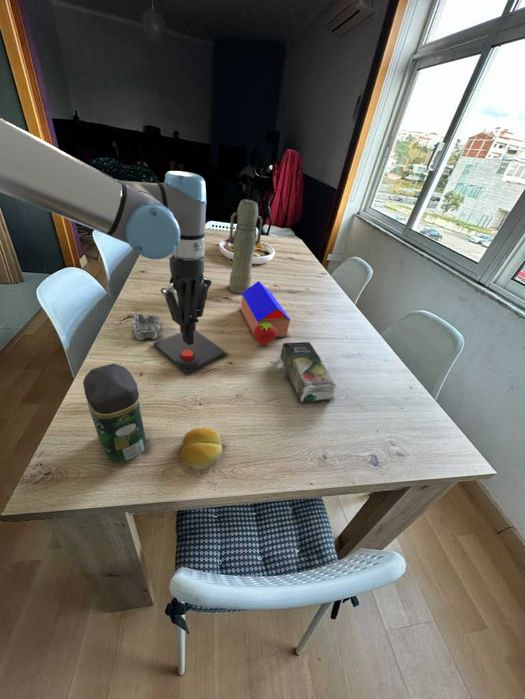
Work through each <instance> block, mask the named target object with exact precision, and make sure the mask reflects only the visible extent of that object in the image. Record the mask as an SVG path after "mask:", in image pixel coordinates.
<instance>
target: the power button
mask: <svg viewBox="0 0 525 699" xmlns="http://www.w3.org/2000/svg"><path fill="white" fill-rule="evenodd" d="M182 359H183V360H184V361H191V360H192V359H193V352H192V351H191V350H184V351H183V352H182Z"/></svg>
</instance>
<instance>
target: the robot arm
mask: <svg viewBox="0 0 525 699" xmlns="http://www.w3.org/2000/svg"><path fill="white" fill-rule="evenodd" d="M0 193H2V194H4V195H5V196H6V195H7V196H9V197H12V198H14V199H16V200H19V201H22V202H24V203H27V204H29V205H32V206H34V207H36V208H38V209H41V210H43V211H47V212H49V213H52V214H54V215H56V216H59V217H62V218H64V219H67V220H68V221H72V222H74V223H75V224H76V223H77V224H79V225H81V226H84V227H85V228H86V227H87V228H88V229H92V230H94V231H97V232H99V233H102V234H104V235H107V236H109V237H111V238H113V239H116V240H118V241H121V242H123V243H126V244H128V245H129V246H130V247H131V248H132V249H133V250H134V251H135V252H136V253H138V254H139V255H140V256H141V257H144V258H146V259H149V260H162V259H165V258H167V257H168V258H169V260H168V261H169V271H170V279H169V285H168V286H166V287H162V288H161V289H160V293H161V294H162V295H163V296H164V297H165V300H166V304H167V308H168V310H169V313H170V316H171V320H172V321H173V322H175V323H176V324H177V325H179V333H182V334H183V341H184V342H185V343H187V344H188V345H191V344H193V343H194V331H196V330H197V329H196V328H197V327H196V326H197V325H196V324H197V323H199V321H200V320H199V319H198V318H202V317H203V315H204V311H205V306H206V301H207V296H208V293H209V289H210V287H211V285H212V280H211V279H209V278H207V277H205V275H204V273H205V256H204V255H205V251H206V250H205V249H206V248H205V246H206V213H207V212H206V211H207V189H206V181H205V179H204V177H202V176H201V175H199V174H197V173H194V172H189V171H182V170H181V171H180V170H169V171H167V172H166V173H165V175H164V182H159V183H157V182H156V183H153V182H144V181H143V182H142V181H131V180H130V181H128V180H119V179H117V178H113V177H112V176H110V175H108V174H107V173H105V172H103V171H100V170H98V169H97V168H95V167H93V166H91V165H89V164H87V163H86V162H84V161H82V160H80V159H78V158H76V157H74V156H72V155H71V154H69V153H67V152H65V151H63V150H61V149H59V148H58V147H56V146H54V145H52V144H50V143H48V142H47V141H44V140H42V139H40V138H39V137H37V136H35V135H33V134H31V133H29V132H28V131H25V130H23V129H22V128H20V127H18V126H17V125H14V124H13V123H11V122H9V121H6V120H5V119H3V118H1V117H0ZM175 291H176V293H175ZM176 296H177V299H176Z"/></svg>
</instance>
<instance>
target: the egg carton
mask: <svg viewBox="0 0 525 699" xmlns="http://www.w3.org/2000/svg"><path fill="white" fill-rule="evenodd" d="M133 318H134V320H133V331H134V334H135V339H136V340H137V339H138V340H140V341H144V340H146V339H151V340H156V339H157V338H160V329H161V327H160V326H161V324H160V323H161V322H160V321H161V319H160V315H158V314H156V315H155V314H152V315H150V314H147V316H144V314H142V313H137V312H134V317H133Z"/></svg>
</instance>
